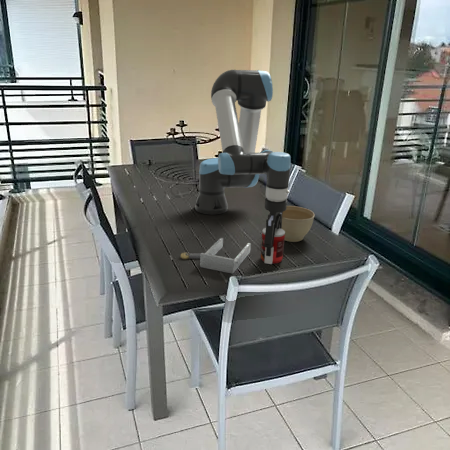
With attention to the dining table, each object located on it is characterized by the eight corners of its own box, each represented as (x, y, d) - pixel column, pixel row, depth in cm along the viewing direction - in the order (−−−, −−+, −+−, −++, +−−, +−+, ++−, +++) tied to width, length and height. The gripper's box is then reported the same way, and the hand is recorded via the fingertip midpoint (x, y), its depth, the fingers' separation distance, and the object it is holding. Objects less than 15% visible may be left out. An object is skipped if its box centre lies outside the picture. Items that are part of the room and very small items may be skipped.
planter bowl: (302, 249, 172) (305, 222, 168) (264, 239, 180) (266, 213, 176) (317, 236, 185) (320, 211, 180) (281, 227, 192) (283, 203, 188)
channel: (200, 266, 155) (200, 253, 154) (220, 246, 172) (220, 234, 170) (232, 273, 152) (233, 260, 150) (250, 251, 168) (251, 239, 166)
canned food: (258, 254, 166) (260, 226, 162) (280, 254, 167) (282, 226, 162) (262, 264, 159) (264, 235, 155) (284, 263, 160) (287, 235, 155)
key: (180, 259, 160) (180, 256, 160) (180, 255, 163) (180, 252, 163) (202, 259, 161) (202, 256, 161) (202, 255, 164) (202, 252, 163)
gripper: (279, 209, 144) (274, 272, 152) (293, 191, 162) (288, 249, 170) (256, 205, 146) (252, 268, 155) (273, 188, 164) (269, 245, 173)
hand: (271, 258), depth 163 cm, fingers closed on canned food, 8 cm apart
